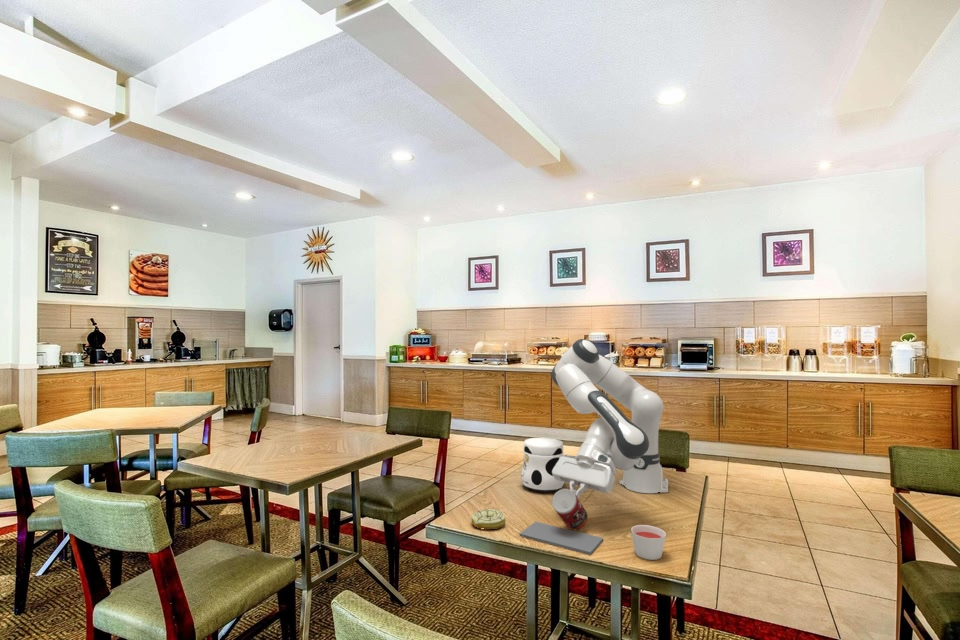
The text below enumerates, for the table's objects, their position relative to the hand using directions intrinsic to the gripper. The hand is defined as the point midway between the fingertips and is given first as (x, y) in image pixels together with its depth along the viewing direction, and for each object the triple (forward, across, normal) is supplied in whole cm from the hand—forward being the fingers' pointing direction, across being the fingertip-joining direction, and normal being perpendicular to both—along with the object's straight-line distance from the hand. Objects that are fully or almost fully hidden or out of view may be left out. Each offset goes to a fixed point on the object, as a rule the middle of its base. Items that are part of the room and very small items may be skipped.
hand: (573, 496), depth 149 cm
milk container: (-12, -29, +26) cm, 41 cm away
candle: (+7, +24, +7) cm, 26 cm away
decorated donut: (+18, -22, -2) cm, 29 cm away
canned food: (+4, 0, +7) cm, 8 cm away
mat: (+13, +1, +2) cm, 13 cm away
